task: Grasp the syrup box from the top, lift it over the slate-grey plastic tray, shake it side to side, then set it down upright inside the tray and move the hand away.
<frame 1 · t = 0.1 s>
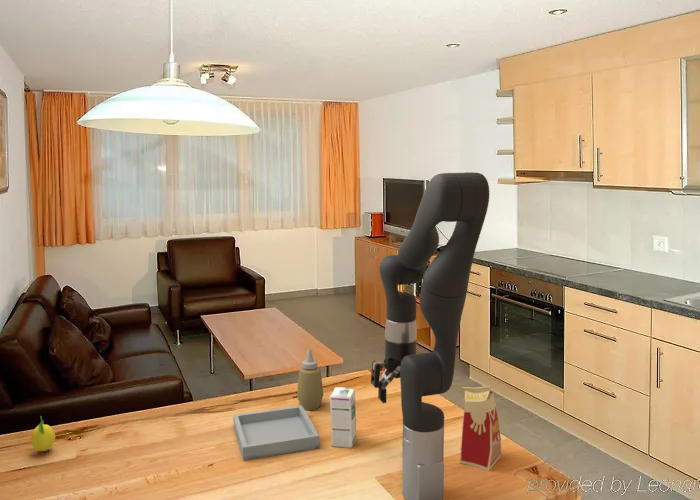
hand: (399, 399, 147), 17 cm above the table, tool pointing down, fingers open, 8 cm apart
tray: (274, 436, 165), on the table
milk carton: (478, 459, 153), on the table
lemon: (45, 452, 158), on the table
squeeze bottle: (310, 407, 185), on the table
syrup box: (343, 443, 162), on the table
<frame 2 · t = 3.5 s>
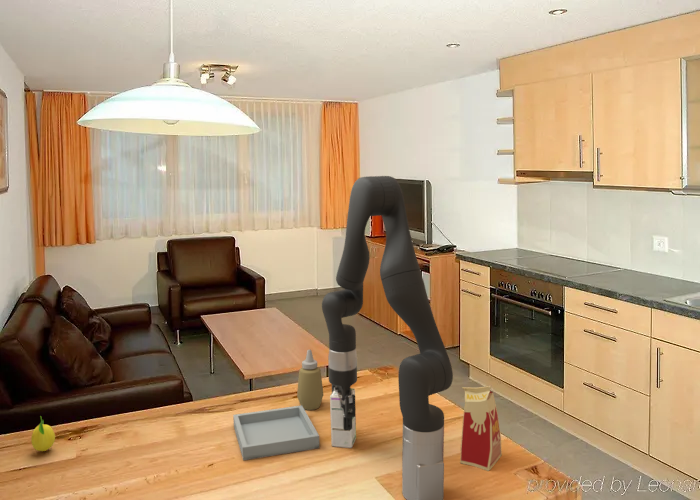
hand: (343, 422, 161), 6 cm above the table, tool pointing down, fingers closed on syrup box, 7 cm apart
syrup box: (343, 443, 162), on the table, touching gripper
everything else where it was.
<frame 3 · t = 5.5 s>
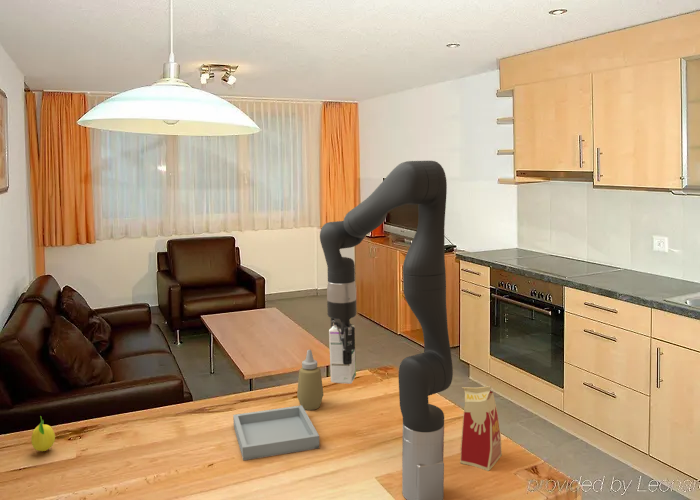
hand: (342, 358, 158), 23 cm above the table, tool pointing down, fingers closed on syrup box, 7 cm apart
syrup box: (343, 380, 159), point 18 cm above the table, touching gripper
everything else where it was.
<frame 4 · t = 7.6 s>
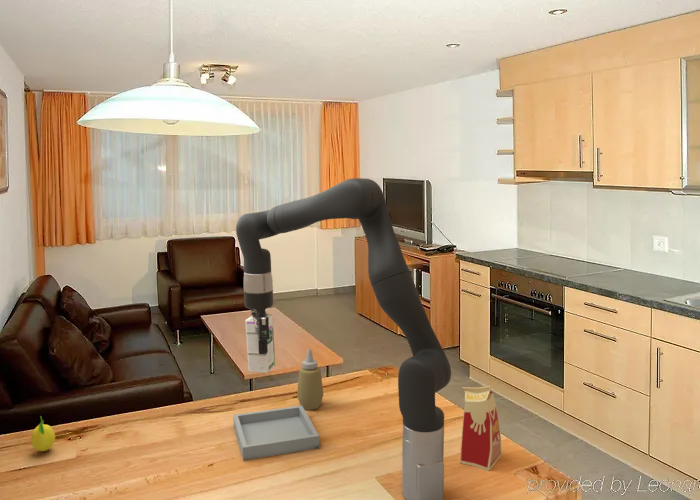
hand: (260, 348, 160), 26 cm above the table, tool pointing down, fingers closed on syrup box, 7 cm apart
syrup box: (261, 369, 161), point 20 cm above the table, touching gripper
everything else where it was.
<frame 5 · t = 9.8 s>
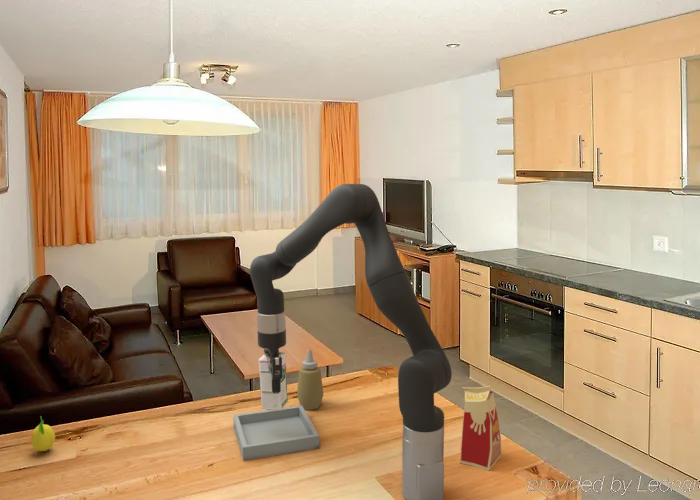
hand: (273, 386, 163), 15 cm above the table, tool pointing down, fingers closed on syrup box, 7 cm apart
syrup box: (274, 406, 164), point 9 cm above the table, touching gripper
everything else where it was.
when the fingers open (8 cm above the table, at t = 11.9 s): syrup box drops 1 cm, resting on tray.
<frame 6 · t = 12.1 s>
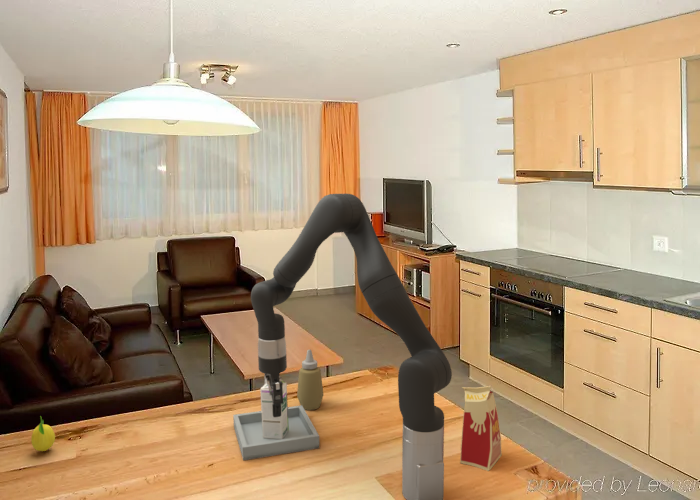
hand: (274, 409, 164), 8 cm above the table, tool pointing down, fingers open, 8 cm apart
syrup box: (275, 434, 165), point 1 cm above the table, touching tray
everything else where it was.
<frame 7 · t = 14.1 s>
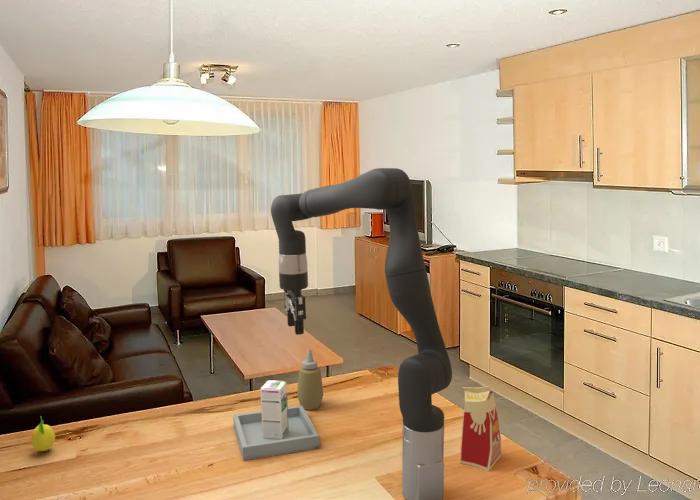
hand: (295, 329, 161), 30 cm above the table, tool pointing down, fingers open, 8 cm apart
nothing on the table moved.
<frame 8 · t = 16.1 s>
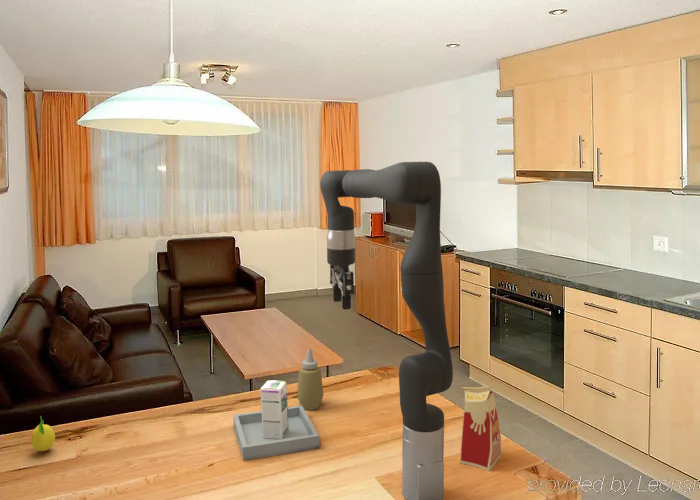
hand: (341, 305, 163), 36 cm above the table, tool pointing down, fingers open, 8 cm apart
nothing on the table moved.
at the end: syrup box inside the target area on the tray (0.3 cm from its centre), point 0.6 cm above the tray's base; syrup box tilted 0°; the gripper is holding nothing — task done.
